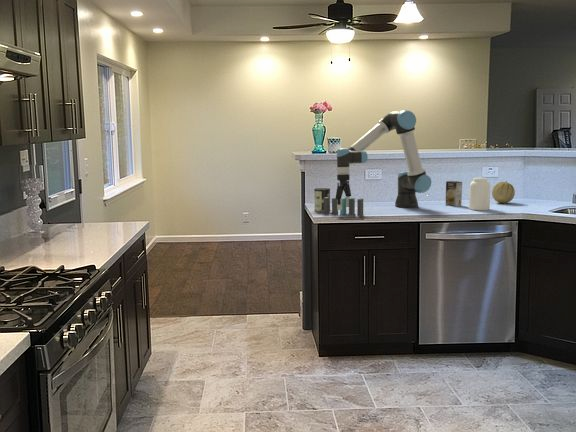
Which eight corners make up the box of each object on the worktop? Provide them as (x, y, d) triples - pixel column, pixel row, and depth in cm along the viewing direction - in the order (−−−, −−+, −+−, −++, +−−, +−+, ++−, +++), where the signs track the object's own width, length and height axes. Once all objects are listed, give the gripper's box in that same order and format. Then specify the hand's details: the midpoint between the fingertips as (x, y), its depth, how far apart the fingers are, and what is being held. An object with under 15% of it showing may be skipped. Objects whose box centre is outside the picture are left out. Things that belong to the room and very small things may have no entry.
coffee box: (444, 205, 412) (445, 181, 410) (451, 204, 416) (451, 180, 413) (455, 206, 405) (456, 182, 402) (462, 205, 408) (462, 181, 406)
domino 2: (338, 213, 380) (337, 197, 379) (335, 214, 376) (334, 198, 374) (335, 213, 381) (334, 197, 379) (332, 214, 376) (331, 198, 375)
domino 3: (354, 214, 375) (354, 198, 374) (351, 215, 371) (351, 199, 369) (351, 214, 376) (351, 198, 375) (348, 215, 372) (348, 198, 370)
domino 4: (363, 214, 373) (363, 198, 371) (360, 215, 368) (360, 199, 367) (360, 214, 374) (360, 198, 372) (357, 215, 369) (357, 199, 368)
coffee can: (331, 209, 399) (331, 188, 397) (329, 211, 389) (329, 189, 387) (315, 209, 401) (315, 188, 399) (313, 211, 391) (313, 189, 389)
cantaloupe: (488, 203, 415) (489, 181, 413) (495, 201, 427) (495, 179, 425) (511, 204, 407) (512, 182, 405) (517, 202, 419) (517, 180, 417)
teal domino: (346, 213, 378) (346, 197, 376) (343, 215, 373) (343, 198, 372) (343, 213, 378) (343, 197, 377) (340, 214, 374) (340, 198, 373)
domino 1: (329, 213, 382) (329, 197, 381) (326, 214, 378) (326, 198, 376) (326, 212, 383) (326, 197, 382) (323, 214, 379) (323, 198, 377)
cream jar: (472, 207, 397) (473, 176, 394) (492, 208, 390) (493, 177, 387) (466, 209, 387) (466, 178, 384) (485, 211, 380) (486, 179, 377)
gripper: (344, 172, 385) (345, 205, 388) (329, 175, 363) (330, 210, 366) (356, 172, 382) (356, 206, 385) (341, 175, 359) (342, 211, 363)
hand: (343, 208), depth 375 cm, fingers open, 13 cm apart
